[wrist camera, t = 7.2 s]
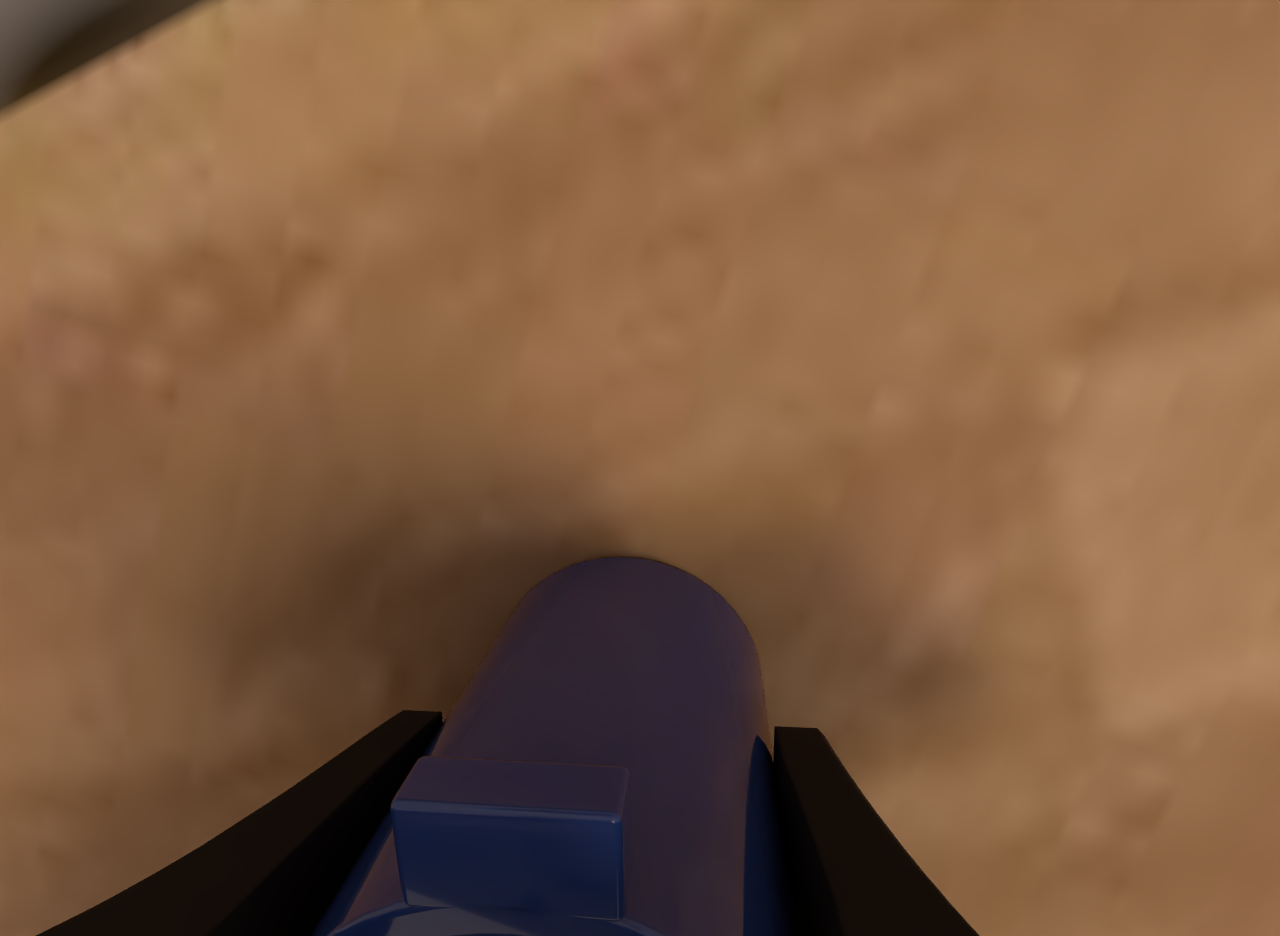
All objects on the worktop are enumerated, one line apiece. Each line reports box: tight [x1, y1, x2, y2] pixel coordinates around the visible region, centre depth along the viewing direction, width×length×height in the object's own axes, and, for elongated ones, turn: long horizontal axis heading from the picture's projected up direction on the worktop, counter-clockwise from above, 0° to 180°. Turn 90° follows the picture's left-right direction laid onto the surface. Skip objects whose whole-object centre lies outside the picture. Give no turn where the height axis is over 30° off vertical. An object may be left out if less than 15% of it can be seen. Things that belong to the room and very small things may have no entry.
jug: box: [311, 557, 797, 936], centre depth 9 cm, size 8×5×7 cm, turn 1°
